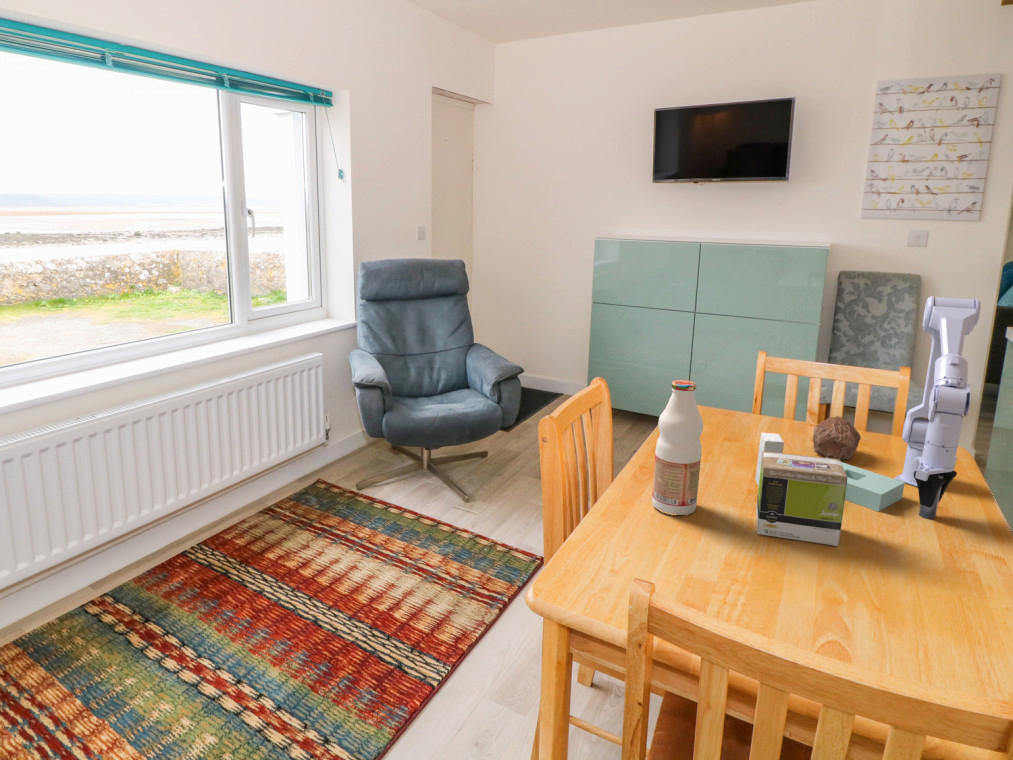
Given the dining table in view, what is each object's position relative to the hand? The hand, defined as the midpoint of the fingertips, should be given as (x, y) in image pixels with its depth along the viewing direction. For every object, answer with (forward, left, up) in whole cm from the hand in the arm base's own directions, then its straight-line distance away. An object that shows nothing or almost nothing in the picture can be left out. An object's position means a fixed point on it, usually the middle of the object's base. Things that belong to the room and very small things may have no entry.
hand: (929, 503), depth 139 cm
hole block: (+1, -16, -3) cm, 16 cm away
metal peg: (0, 0, -3) cm, 3 cm away
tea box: (+29, -13, -3) cm, 32 cm away
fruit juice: (+41, -34, -3) cm, 53 cm away
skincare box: (+14, -29, -3) cm, 32 cm away
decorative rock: (-18, -30, -3) cm, 35 cm away
